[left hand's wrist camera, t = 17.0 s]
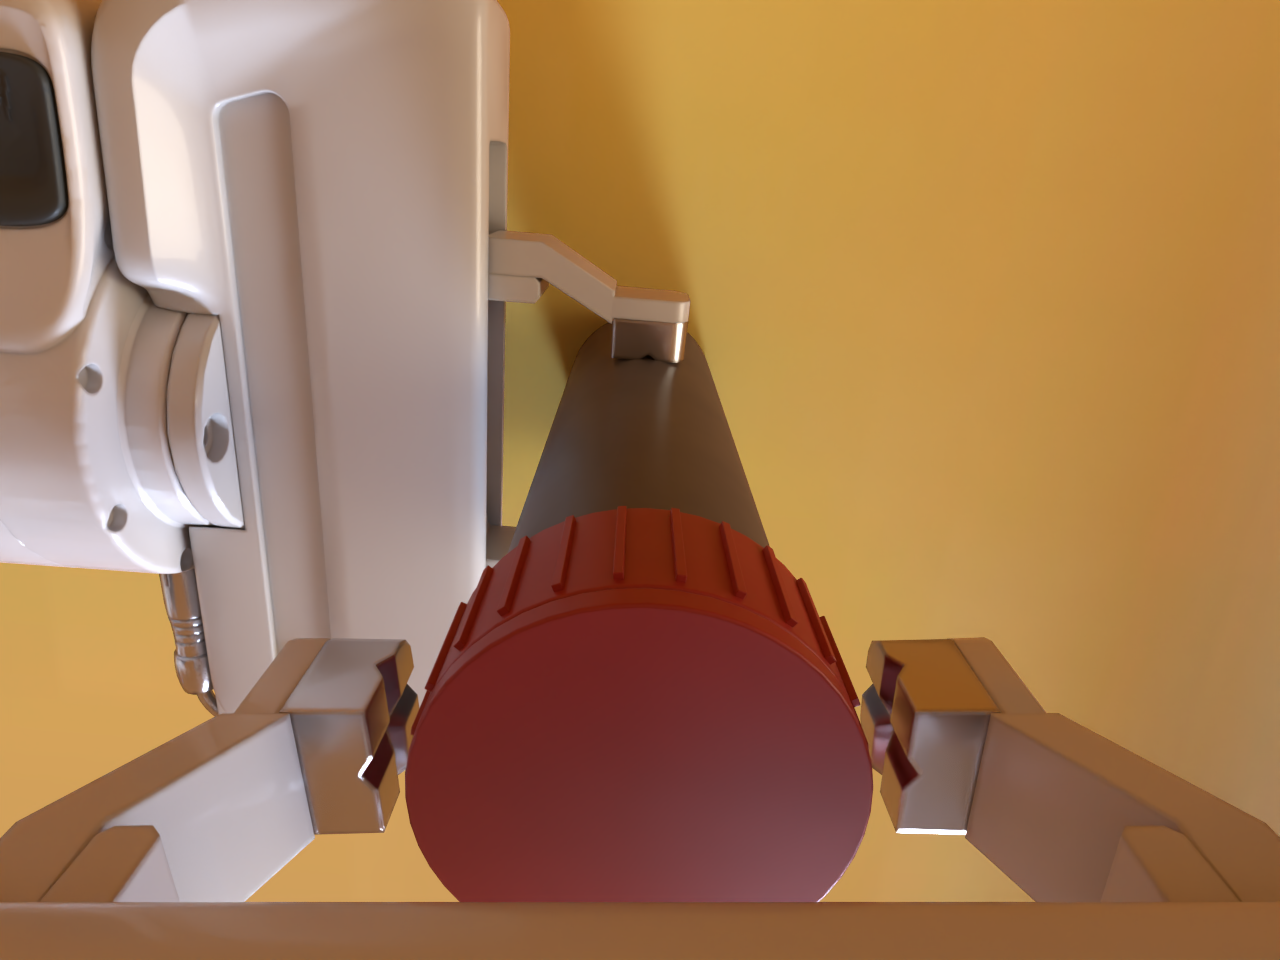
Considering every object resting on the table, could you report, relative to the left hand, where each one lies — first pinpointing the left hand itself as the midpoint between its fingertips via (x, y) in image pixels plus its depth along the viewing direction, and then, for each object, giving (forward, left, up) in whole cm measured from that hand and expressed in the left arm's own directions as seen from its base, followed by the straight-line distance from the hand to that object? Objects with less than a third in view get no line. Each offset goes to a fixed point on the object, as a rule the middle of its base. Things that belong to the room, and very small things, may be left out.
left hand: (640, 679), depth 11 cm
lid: (0, 0, +2) cm, 2 cm away
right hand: (-1, 0, -10) cm, 10 cm away
